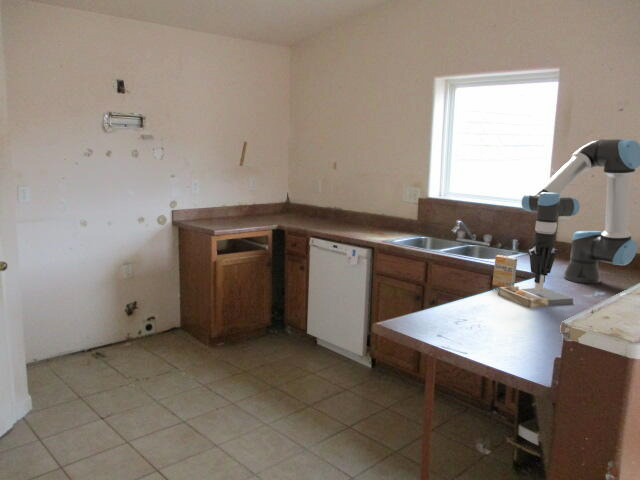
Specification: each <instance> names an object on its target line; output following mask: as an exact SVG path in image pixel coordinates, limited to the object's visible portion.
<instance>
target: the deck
mask: <svg viewBox="0 0 640 480" xmlns="http://www.w3.org/2000/svg"><path fill="white" fill-rule="evenodd" d="M519 290H521V291H523V292H524V293H525V297H526V298H529V299H536V298H549V299H548V306H554V305H566V304H567V305H568V304H573V303H574V298H573V297H571V296H568V295H565V294H562V293H560V292H557V291H554V290H552V289H549V288H546V287H543V291H542V292H539V291H536V290H535V287H533V288H519V289H518V291H519Z"/></svg>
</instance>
